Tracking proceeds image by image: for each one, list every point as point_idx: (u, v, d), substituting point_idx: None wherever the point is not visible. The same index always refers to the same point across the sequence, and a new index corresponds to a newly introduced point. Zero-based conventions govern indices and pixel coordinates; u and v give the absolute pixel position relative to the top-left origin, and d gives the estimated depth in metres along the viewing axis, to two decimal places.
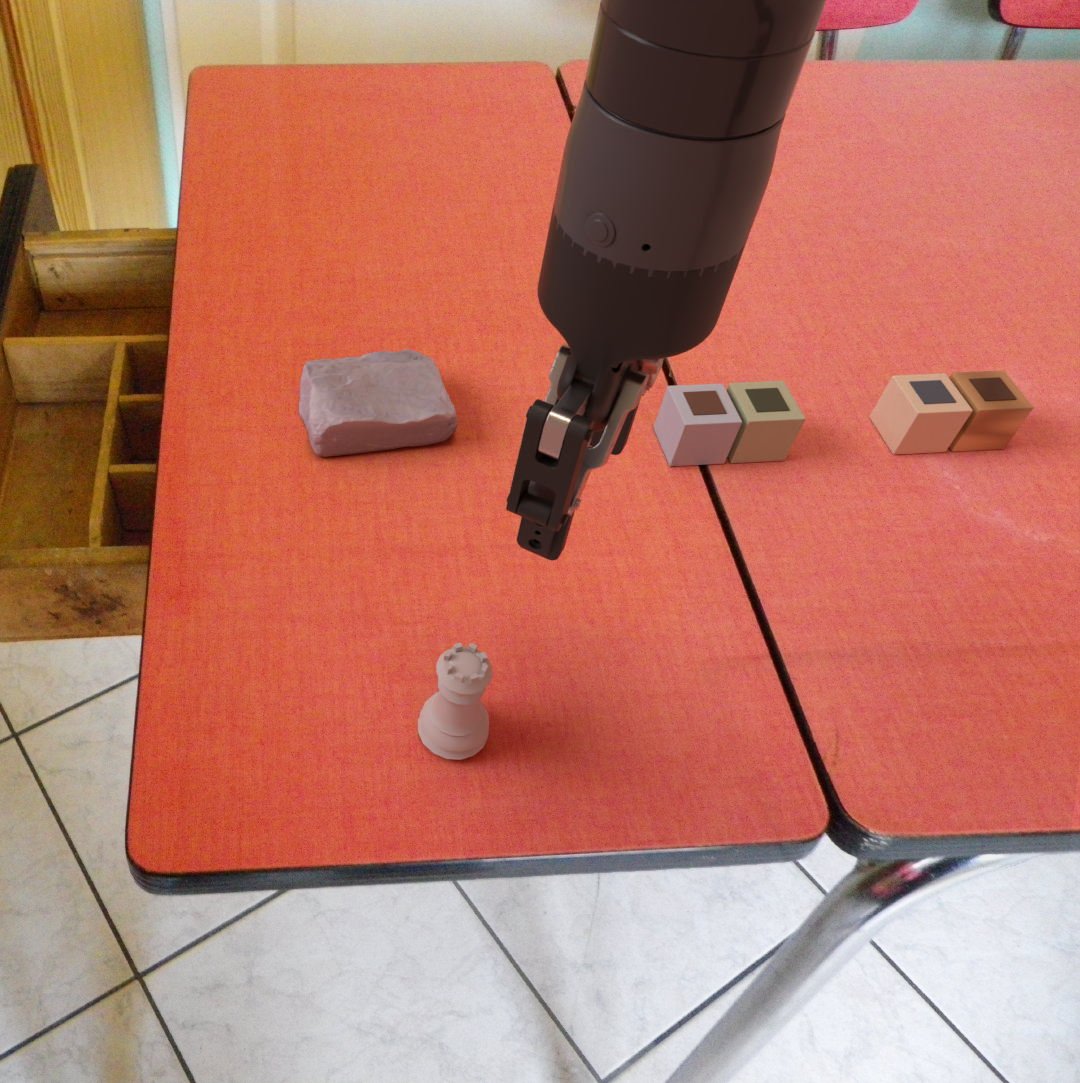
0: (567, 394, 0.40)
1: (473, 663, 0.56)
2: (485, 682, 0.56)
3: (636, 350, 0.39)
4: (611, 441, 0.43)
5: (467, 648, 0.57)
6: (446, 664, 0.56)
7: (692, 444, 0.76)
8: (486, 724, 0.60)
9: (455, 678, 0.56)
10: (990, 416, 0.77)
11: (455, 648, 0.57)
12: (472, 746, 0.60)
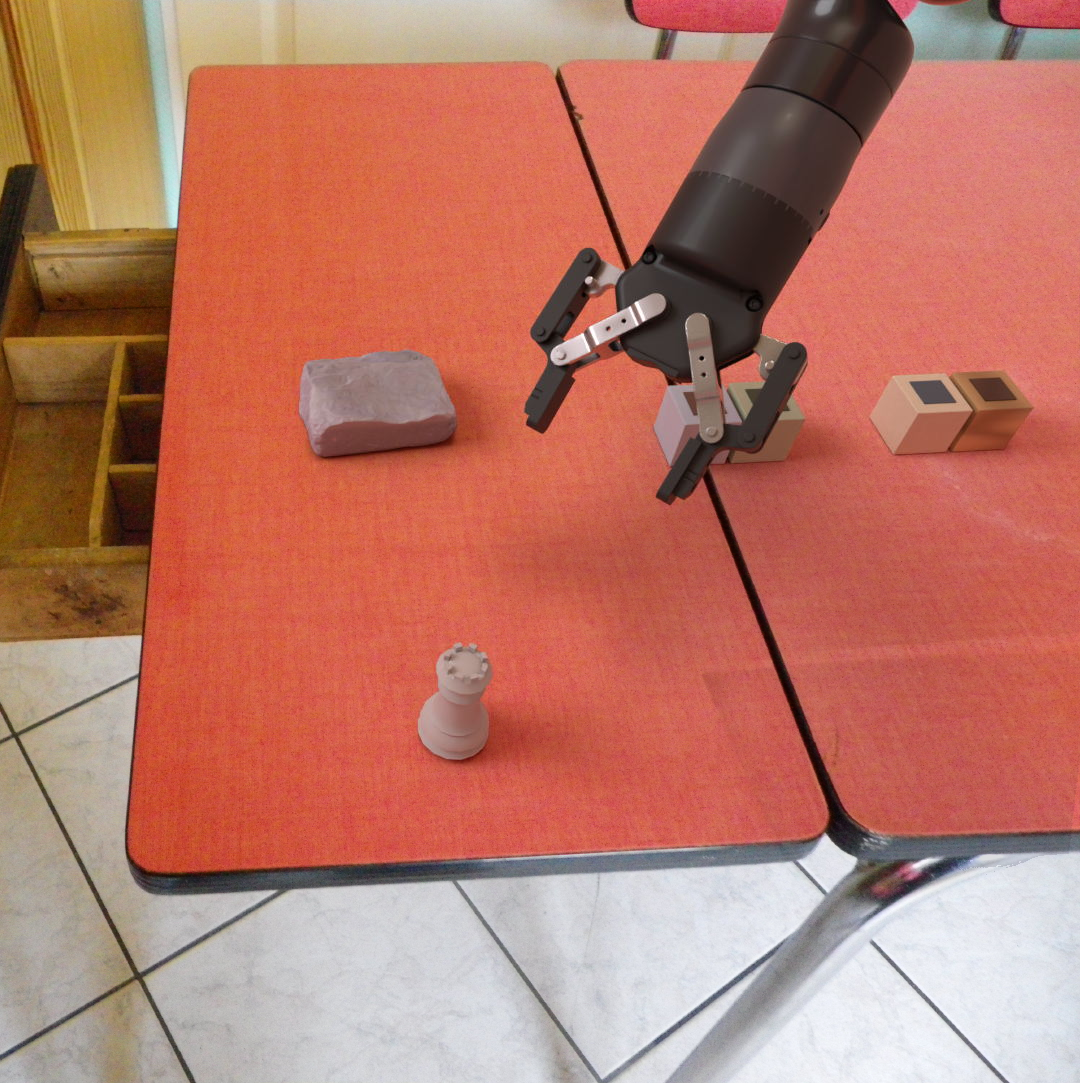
0: None
1: (473, 663, 0.56)
2: (485, 682, 0.56)
3: (653, 235, 0.54)
4: (607, 318, 0.55)
5: (467, 648, 0.57)
6: (446, 664, 0.56)
7: None
8: (486, 724, 0.60)
9: (455, 678, 0.56)
10: (990, 416, 0.77)
11: (455, 648, 0.57)
12: (472, 746, 0.60)
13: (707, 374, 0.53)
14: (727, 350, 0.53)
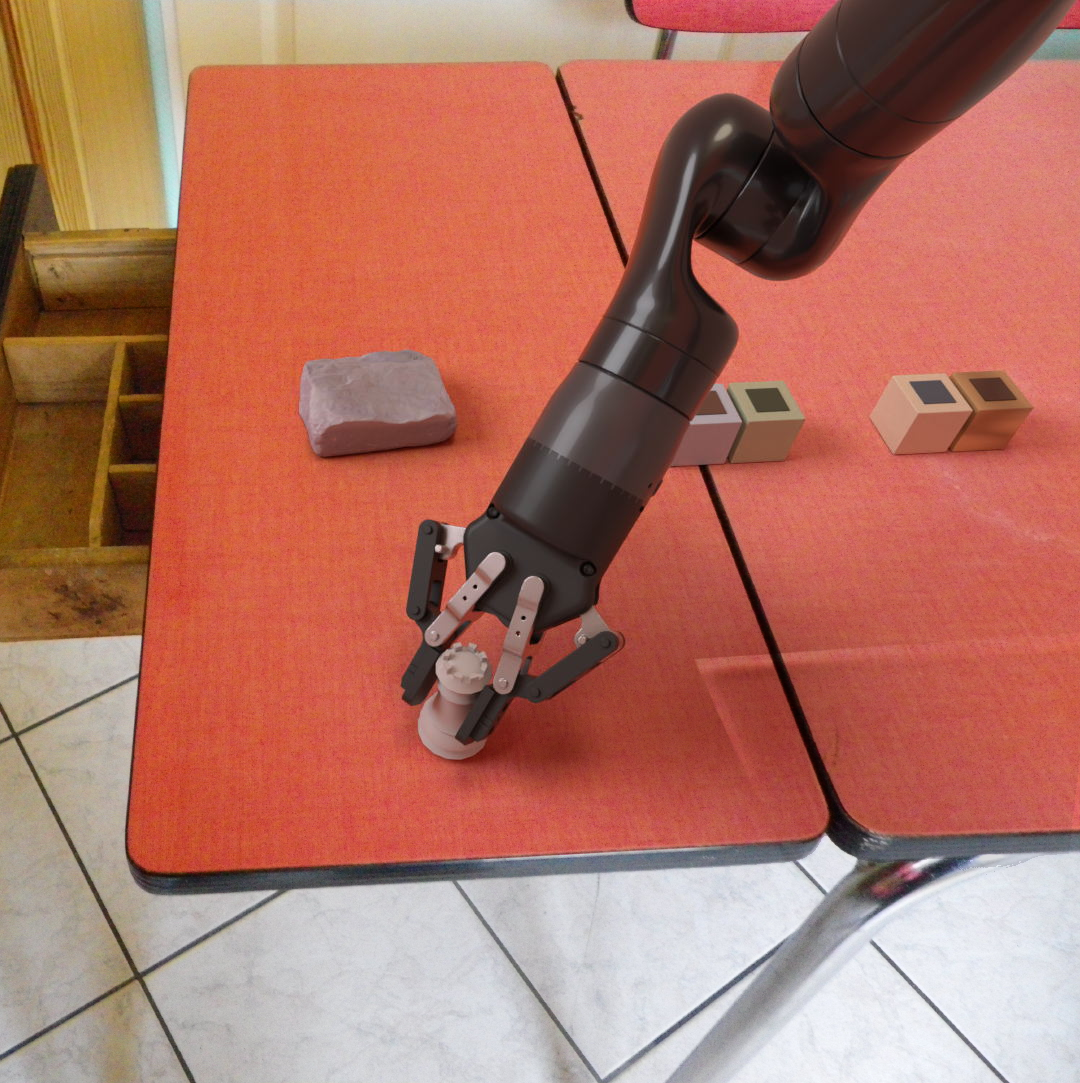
0: None
1: (472, 663, 0.56)
2: (485, 682, 0.56)
3: (495, 493, 0.56)
4: (460, 589, 0.56)
5: (466, 648, 0.57)
6: (445, 664, 0.56)
7: (692, 444, 0.76)
8: None
9: (455, 678, 0.56)
10: (990, 416, 0.77)
11: (454, 648, 0.57)
12: (472, 746, 0.60)
13: (521, 634, 0.54)
14: (563, 612, 0.54)
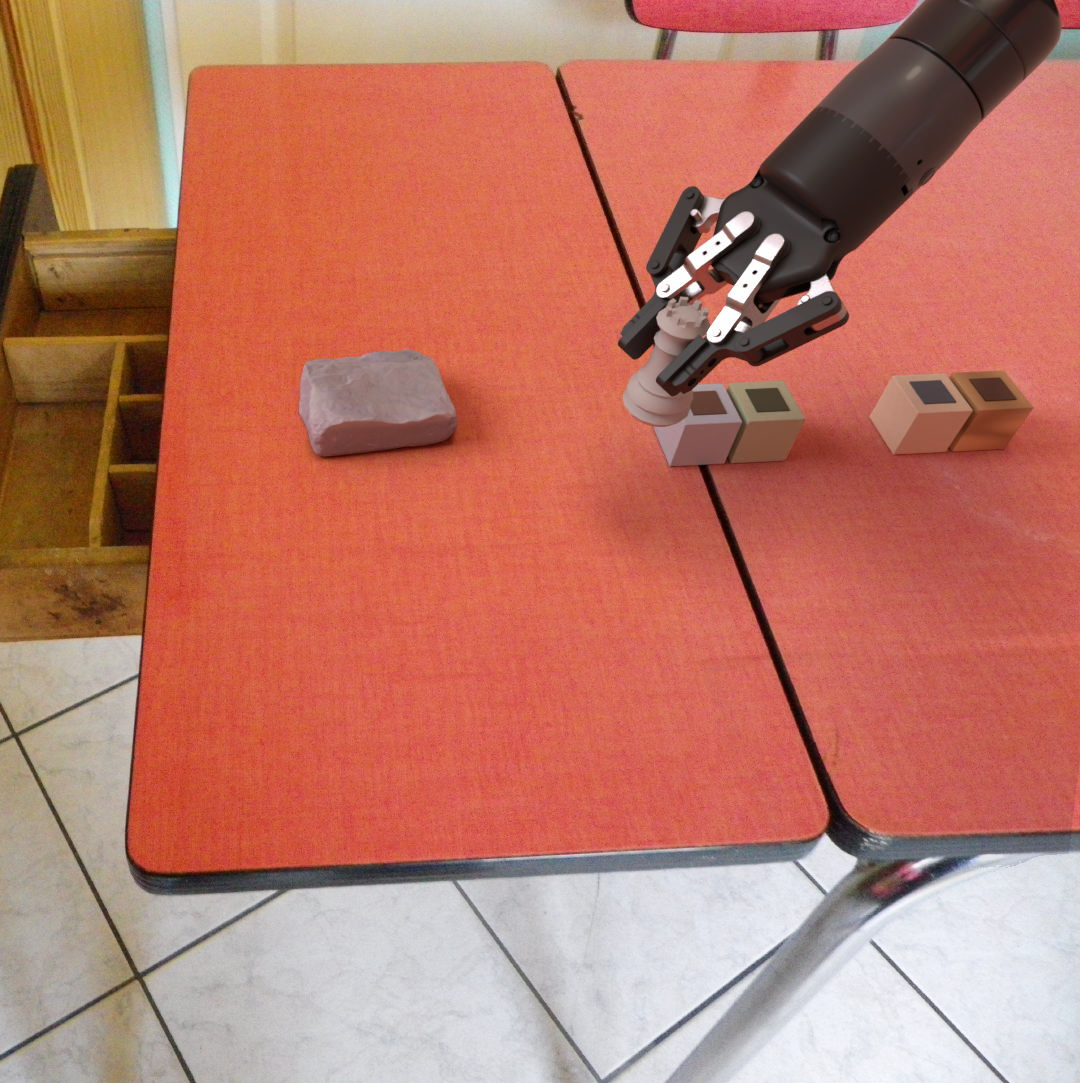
0: None
1: (693, 315, 0.60)
2: (699, 332, 0.60)
3: None
4: (702, 245, 0.60)
5: (692, 305, 0.61)
6: (667, 307, 0.60)
7: (692, 444, 0.76)
8: (688, 399, 0.64)
9: (672, 320, 0.60)
10: (990, 416, 0.77)
11: (680, 300, 0.61)
12: (669, 412, 0.64)
13: (747, 287, 0.58)
14: (794, 273, 0.57)
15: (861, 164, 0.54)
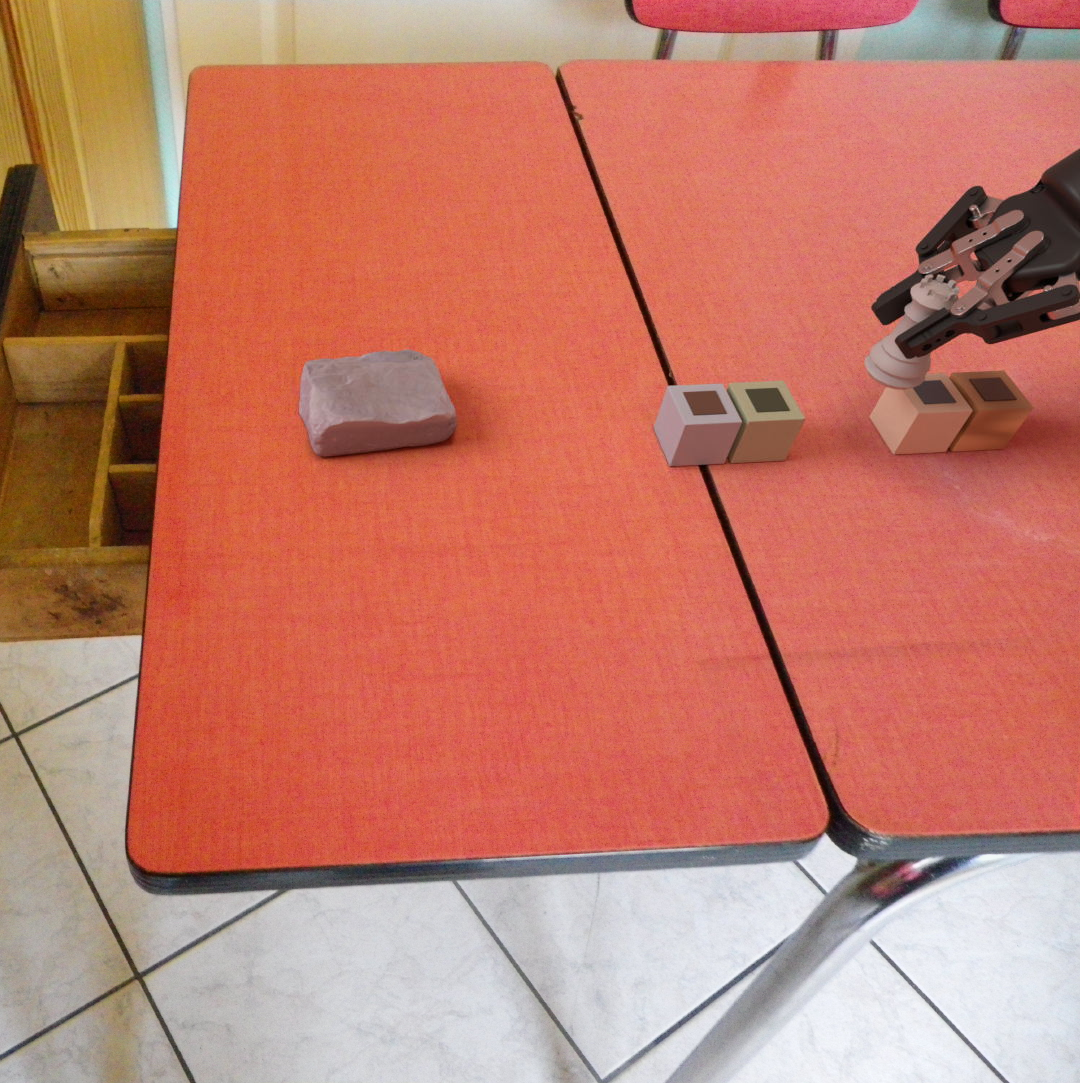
0: None
1: (945, 291, 0.70)
2: (945, 306, 0.69)
3: None
4: (970, 234, 0.69)
5: (947, 284, 0.70)
6: (923, 279, 0.70)
7: (692, 444, 0.76)
8: (923, 368, 0.73)
9: (924, 290, 0.70)
10: (990, 416, 0.77)
11: (937, 277, 0.70)
12: (902, 374, 0.73)
13: (999, 272, 0.67)
14: (1046, 267, 0.65)
15: None
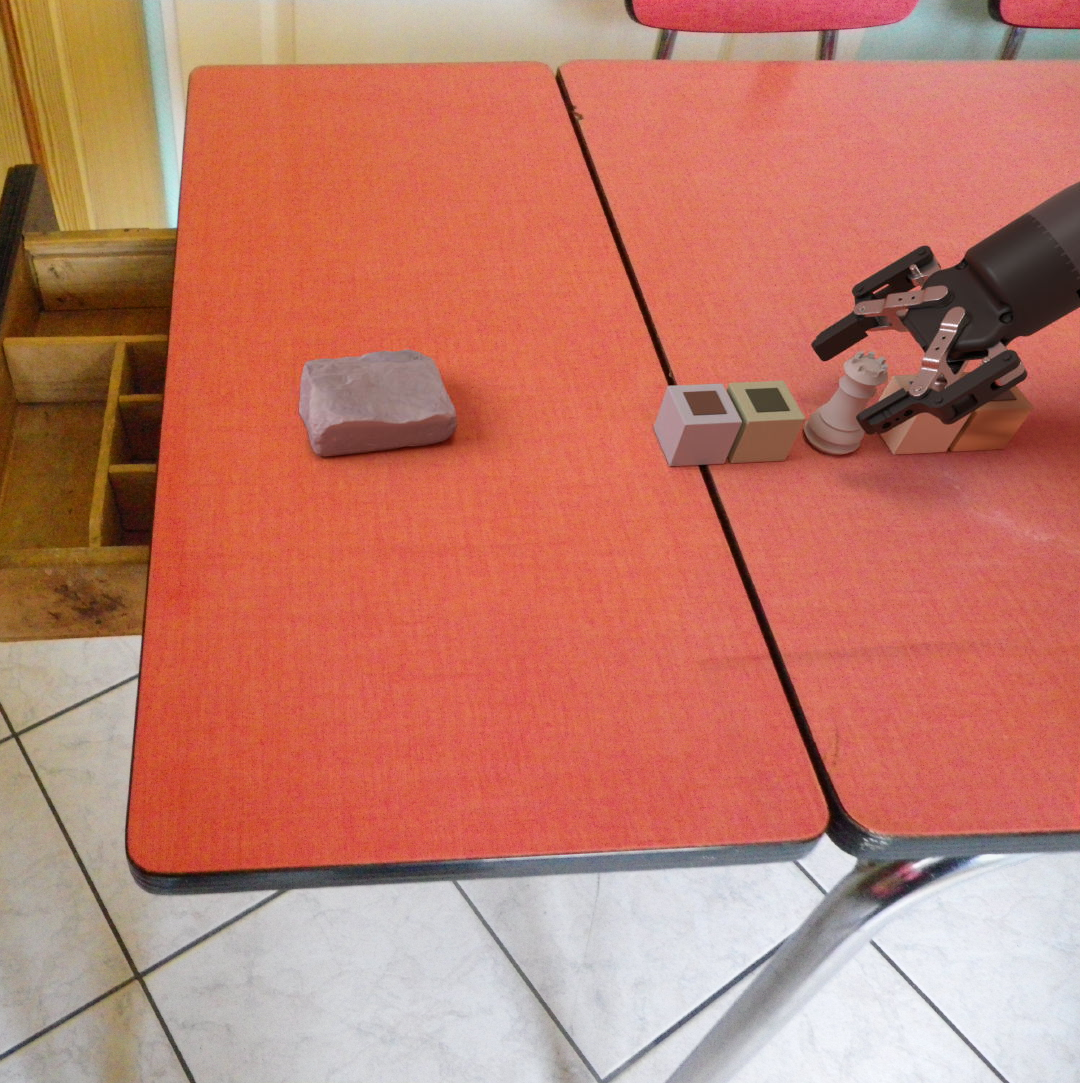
0: None
1: (875, 367, 0.75)
2: (875, 381, 0.74)
3: None
4: (904, 292, 0.74)
5: (877, 360, 0.75)
6: (855, 356, 0.75)
7: (692, 444, 0.76)
8: (857, 436, 0.78)
9: (855, 366, 0.74)
10: (990, 416, 0.77)
11: (868, 354, 0.75)
12: (837, 442, 0.78)
13: (939, 349, 0.70)
14: (966, 341, 0.70)
15: (1043, 264, 0.66)
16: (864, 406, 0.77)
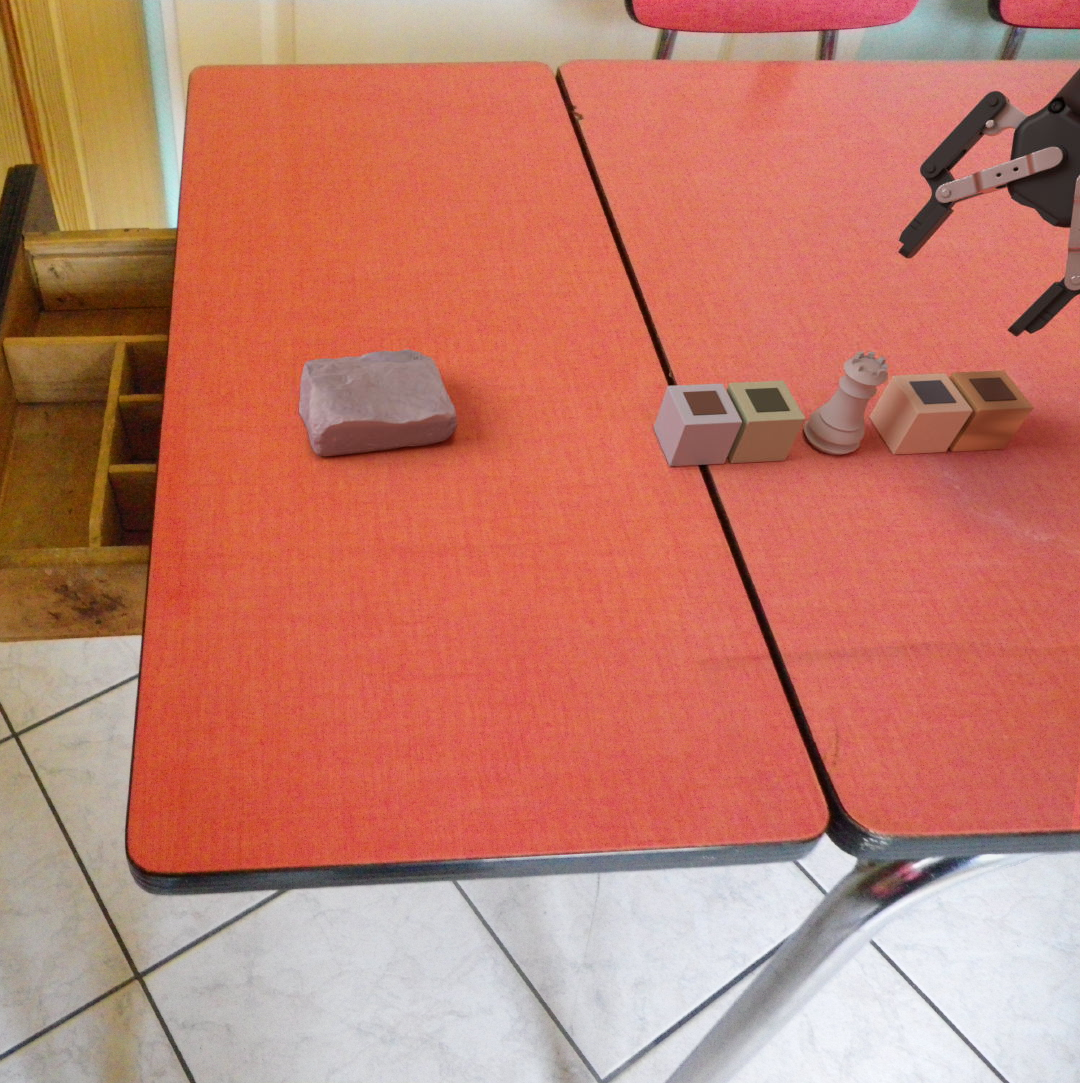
0: None
1: (875, 367, 0.75)
2: (875, 381, 0.74)
3: (1066, 87, 0.59)
4: (1000, 164, 0.62)
5: (877, 360, 0.75)
6: (855, 356, 0.75)
7: (692, 444, 0.76)
8: (857, 436, 0.78)
9: (855, 366, 0.74)
10: (990, 416, 0.77)
11: (868, 354, 0.75)
12: (837, 442, 0.78)
13: None
14: None
15: None
16: (864, 406, 0.77)
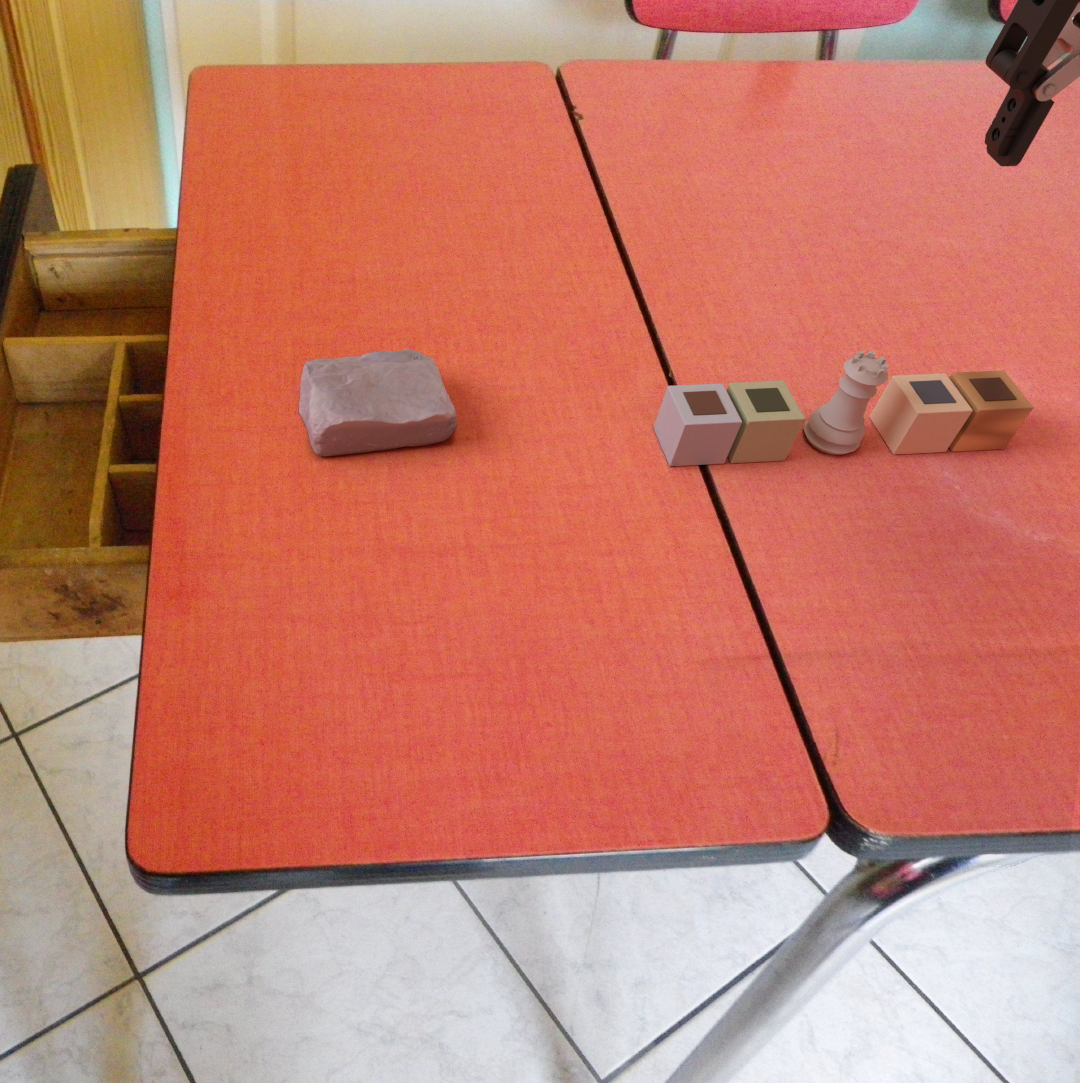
0: None
1: (875, 367, 0.75)
2: (875, 381, 0.74)
3: None
4: None
5: (877, 360, 0.75)
6: (855, 356, 0.75)
7: (692, 444, 0.76)
8: (857, 436, 0.78)
9: (855, 366, 0.74)
10: (990, 416, 0.77)
11: (868, 354, 0.75)
12: (837, 442, 0.78)
13: None
14: None
15: None
16: (864, 406, 0.77)
